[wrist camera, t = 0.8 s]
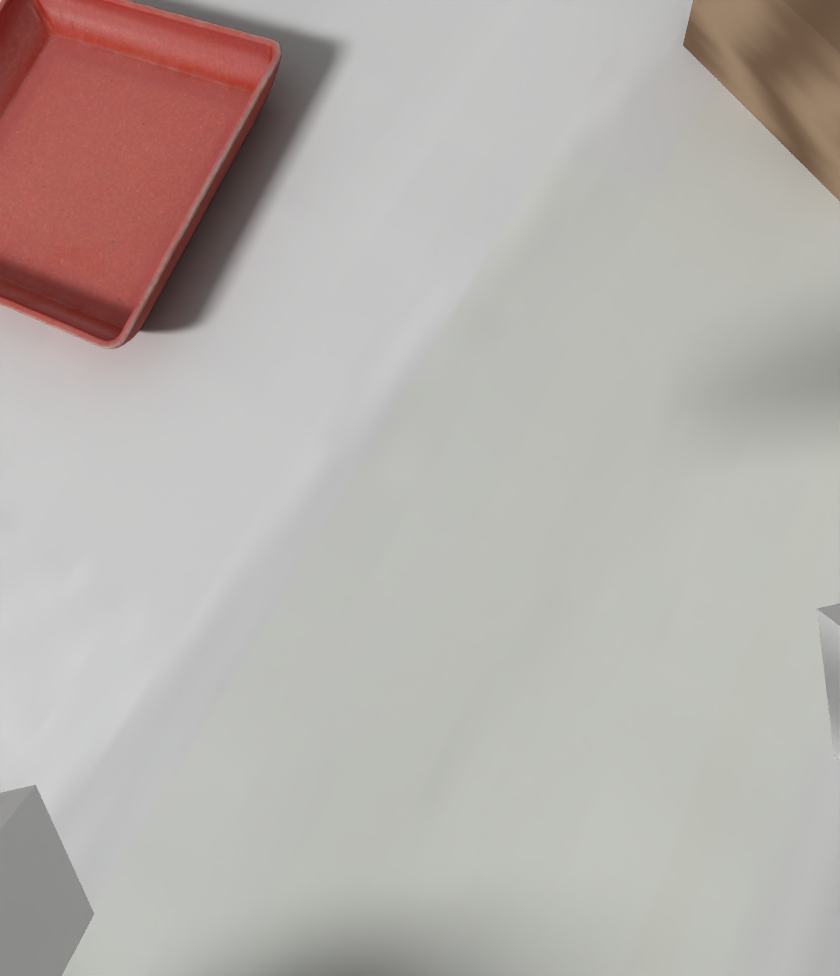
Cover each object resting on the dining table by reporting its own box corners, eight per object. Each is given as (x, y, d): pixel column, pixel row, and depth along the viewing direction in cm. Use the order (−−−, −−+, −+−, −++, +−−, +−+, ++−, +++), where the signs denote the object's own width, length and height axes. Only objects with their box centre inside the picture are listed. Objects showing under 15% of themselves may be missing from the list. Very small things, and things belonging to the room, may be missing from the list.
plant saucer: (54, 15, 43) (15, -35, 40) (307, 88, 39) (285, 38, 35) (-96, 271, 41) (-151, 240, 38) (154, 379, 36) (116, 354, 33)
